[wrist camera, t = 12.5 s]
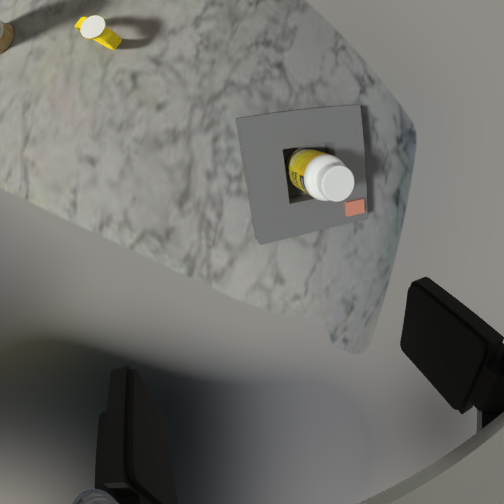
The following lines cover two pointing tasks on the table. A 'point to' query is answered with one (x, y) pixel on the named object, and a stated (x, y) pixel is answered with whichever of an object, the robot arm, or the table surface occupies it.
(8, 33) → the sprinkles bottle
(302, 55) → the table surface
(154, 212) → the table surface
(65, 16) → the table surface
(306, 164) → the supplement bottle
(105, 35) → the watch
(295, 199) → the block with square hole
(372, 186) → the table surface
